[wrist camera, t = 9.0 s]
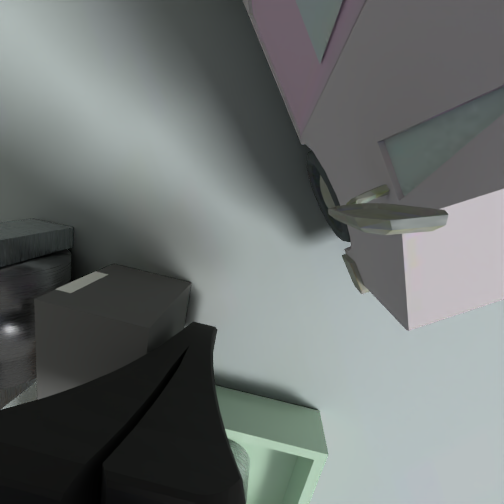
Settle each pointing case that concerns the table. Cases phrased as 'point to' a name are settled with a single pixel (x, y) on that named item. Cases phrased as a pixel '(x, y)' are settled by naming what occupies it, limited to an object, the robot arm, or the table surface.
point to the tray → (275, 445)
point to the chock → (104, 324)
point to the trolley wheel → (27, 293)
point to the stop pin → (241, 463)
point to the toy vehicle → (401, 140)
